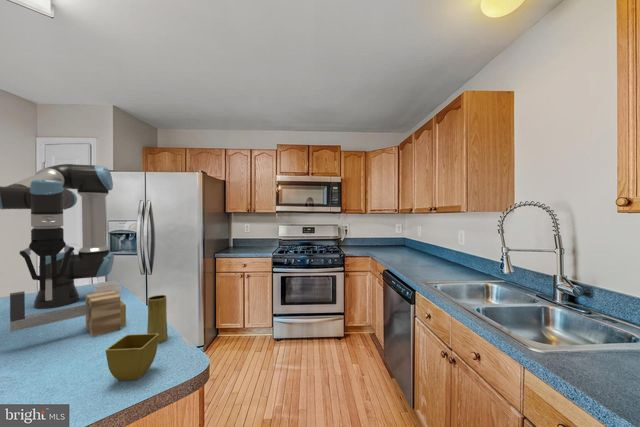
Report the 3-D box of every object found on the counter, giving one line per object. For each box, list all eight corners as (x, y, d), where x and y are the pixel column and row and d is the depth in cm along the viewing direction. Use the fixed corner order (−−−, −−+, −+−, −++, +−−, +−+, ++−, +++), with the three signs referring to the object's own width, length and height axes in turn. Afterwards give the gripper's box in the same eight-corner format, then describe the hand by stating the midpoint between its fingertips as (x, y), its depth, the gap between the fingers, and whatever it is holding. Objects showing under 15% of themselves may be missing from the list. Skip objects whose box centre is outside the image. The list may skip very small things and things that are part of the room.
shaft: (10, 328, 85) (9, 293, 84) (110, 307, 103) (110, 278, 103) (10, 331, 83) (9, 295, 82) (112, 309, 101) (112, 279, 101)
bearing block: (85, 326, 101) (85, 294, 101) (112, 320, 107) (112, 289, 107) (92, 336, 93) (91, 301, 93) (120, 329, 99) (120, 296, 99)
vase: (172, 337, 93) (172, 295, 93) (156, 345, 87) (155, 301, 87) (158, 334, 95) (158, 293, 95) (142, 342, 89) (141, 299, 89)
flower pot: (126, 366, 76) (126, 334, 76) (159, 364, 77) (159, 332, 76) (104, 386, 67) (104, 350, 67) (142, 384, 68) (141, 348, 68)
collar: (114, 322, 106) (114, 301, 106) (120, 320, 107) (120, 300, 107) (119, 327, 101) (119, 306, 101) (125, 325, 103) (125, 304, 103)
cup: (126, 308, 121) (125, 281, 121) (108, 316, 112) (108, 286, 112) (107, 307, 122) (107, 280, 122) (88, 315, 113) (87, 286, 113)
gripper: (18, 229, 82) (19, 307, 83) (76, 227, 92) (76, 297, 92) (17, 227, 87) (19, 301, 88) (72, 226, 97) (73, 292, 97)
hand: (48, 299), depth 90 cm, fingers closed
